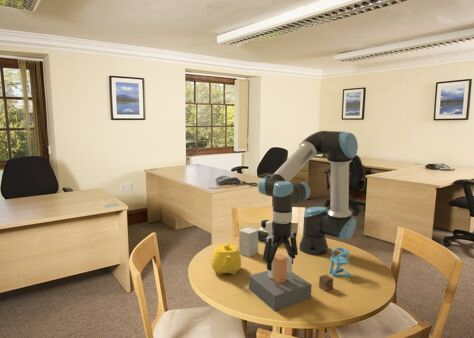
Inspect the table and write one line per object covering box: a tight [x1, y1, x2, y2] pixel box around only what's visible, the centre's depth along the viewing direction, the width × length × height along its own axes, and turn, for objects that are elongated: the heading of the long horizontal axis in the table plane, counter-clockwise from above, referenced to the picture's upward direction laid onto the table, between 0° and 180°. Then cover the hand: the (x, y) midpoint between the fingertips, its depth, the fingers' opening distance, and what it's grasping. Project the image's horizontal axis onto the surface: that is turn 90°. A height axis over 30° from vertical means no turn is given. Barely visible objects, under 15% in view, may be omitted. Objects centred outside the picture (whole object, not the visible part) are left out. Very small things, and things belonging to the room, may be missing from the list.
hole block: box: [248, 270, 312, 311], centre depth 140 cm, size 18×18×6 cm
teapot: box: [210, 243, 242, 276], centre depth 157 cm, size 14×20×13 cm
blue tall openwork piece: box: [328, 247, 352, 278], centre depth 158 cm, size 8×8×12 cm
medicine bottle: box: [257, 219, 273, 244], centre depth 196 cm, size 7×7×12 cm
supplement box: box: [238, 226, 259, 258], centre depth 178 cm, size 7×7×13 cm
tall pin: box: [272, 253, 287, 285], centre depth 139 cm, size 4×4×16 cm
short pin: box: [318, 274, 334, 293], centre depth 145 cm, size 4×4×5 cm
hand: (279, 274), depth 139 cm, fingers open, 8 cm apart
